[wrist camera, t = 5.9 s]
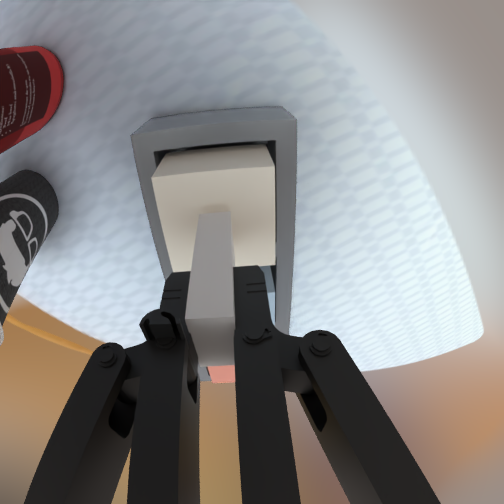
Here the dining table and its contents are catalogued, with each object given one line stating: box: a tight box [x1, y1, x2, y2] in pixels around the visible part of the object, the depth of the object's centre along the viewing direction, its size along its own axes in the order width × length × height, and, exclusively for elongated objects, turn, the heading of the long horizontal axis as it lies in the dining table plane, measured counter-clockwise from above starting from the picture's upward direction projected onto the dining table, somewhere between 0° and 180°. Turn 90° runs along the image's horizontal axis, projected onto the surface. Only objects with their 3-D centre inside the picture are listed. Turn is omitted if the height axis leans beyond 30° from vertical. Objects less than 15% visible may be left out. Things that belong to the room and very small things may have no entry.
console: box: [131, 107, 297, 381], centre depth 25 cm, size 26×9×5 cm, turn 3°
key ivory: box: [151, 144, 275, 272], centre depth 17 cm, size 6×6×4 cm
